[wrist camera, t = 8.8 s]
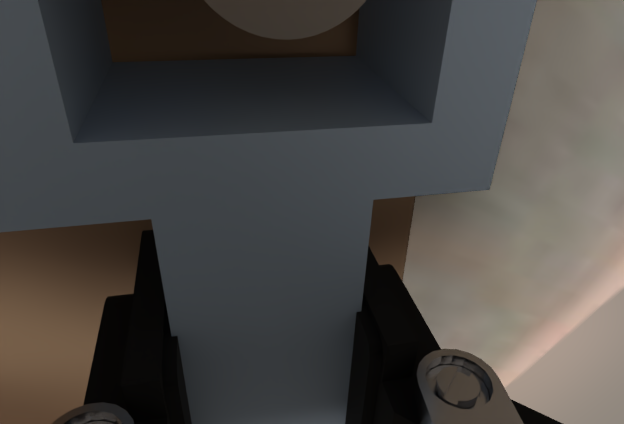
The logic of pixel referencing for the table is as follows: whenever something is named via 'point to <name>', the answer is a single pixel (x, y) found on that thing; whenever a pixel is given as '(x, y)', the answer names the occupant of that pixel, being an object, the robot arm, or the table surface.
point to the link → (255, 174)
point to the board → (127, 235)
